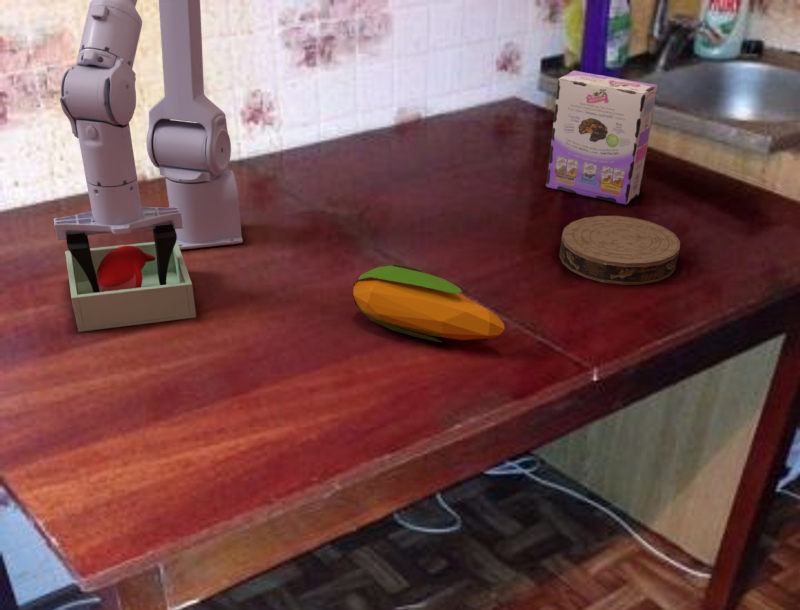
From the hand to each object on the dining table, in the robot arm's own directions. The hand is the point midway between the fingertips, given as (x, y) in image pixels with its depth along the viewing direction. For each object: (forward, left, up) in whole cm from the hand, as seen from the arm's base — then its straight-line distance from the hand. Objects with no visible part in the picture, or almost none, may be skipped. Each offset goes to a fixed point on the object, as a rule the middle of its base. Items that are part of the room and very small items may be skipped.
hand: (129, 288), depth 122 cm
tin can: (-65, +5, -2) cm, 65 cm away
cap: (+1, 0, -1) cm, 1 cm away
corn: (-33, +18, -2) cm, 38 cm away
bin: (0, 0, -2) cm, 2 cm away
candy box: (-73, -19, -2) cm, 76 cm away
